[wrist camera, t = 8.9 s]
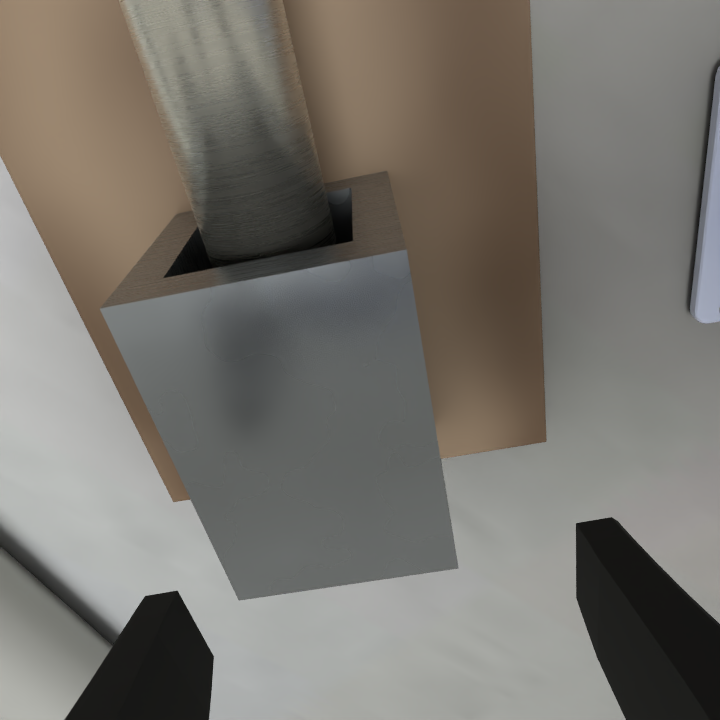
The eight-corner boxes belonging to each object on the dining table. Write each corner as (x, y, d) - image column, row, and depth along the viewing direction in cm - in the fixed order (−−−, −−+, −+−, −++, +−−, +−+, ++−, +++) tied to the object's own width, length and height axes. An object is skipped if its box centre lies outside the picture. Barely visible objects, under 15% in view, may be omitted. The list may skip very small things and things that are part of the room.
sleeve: (387, 170, 16) (406, 249, 11) (430, 427, 21) (458, 568, 15) (176, 213, 16) (99, 308, 11) (264, 455, 21) (239, 600, 16)
